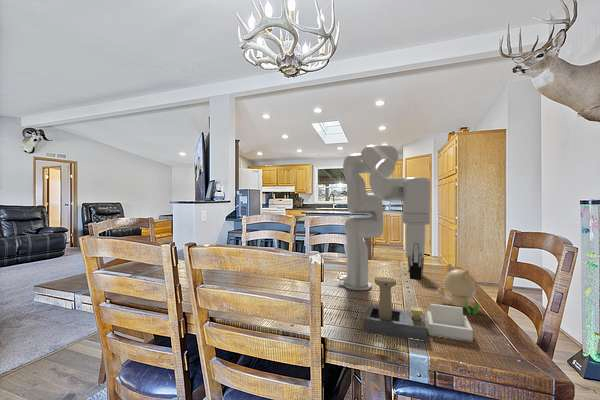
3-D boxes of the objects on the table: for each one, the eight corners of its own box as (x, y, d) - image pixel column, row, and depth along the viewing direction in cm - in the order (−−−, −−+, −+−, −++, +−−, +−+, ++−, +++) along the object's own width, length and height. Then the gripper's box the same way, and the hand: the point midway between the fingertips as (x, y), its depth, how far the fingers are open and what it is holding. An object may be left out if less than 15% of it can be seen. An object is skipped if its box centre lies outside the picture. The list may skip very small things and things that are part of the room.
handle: (397, 331, 84) (396, 282, 84) (375, 329, 85) (374, 281, 85) (395, 324, 88) (395, 277, 88) (374, 322, 90) (374, 276, 90)
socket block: (364, 331, 84) (364, 318, 84) (368, 317, 94) (368, 305, 94) (426, 342, 78) (426, 328, 78) (424, 325, 88) (424, 313, 87)
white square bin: (429, 335, 81) (429, 315, 81) (427, 321, 91) (427, 303, 91) (472, 342, 77) (472, 321, 77) (465, 327, 87) (465, 307, 87)
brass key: (411, 333, 83) (411, 309, 83) (411, 328, 86) (411, 306, 85) (422, 334, 82) (422, 311, 82) (421, 330, 84) (421, 307, 84)
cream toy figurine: (489, 314, 96) (489, 271, 96) (464, 316, 95) (464, 272, 95) (458, 298, 111) (458, 261, 111) (436, 300, 109) (436, 262, 109)
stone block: (426, 277, 140) (426, 238, 139) (412, 277, 140) (412, 238, 140) (417, 270, 153) (417, 234, 153) (404, 270, 153) (404, 234, 153)
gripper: (403, 216, 92) (402, 270, 92) (402, 220, 78) (401, 285, 78) (428, 216, 89) (427, 273, 90) (431, 221, 75) (430, 288, 76)
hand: (415, 278), depth 84 cm, fingers closed
